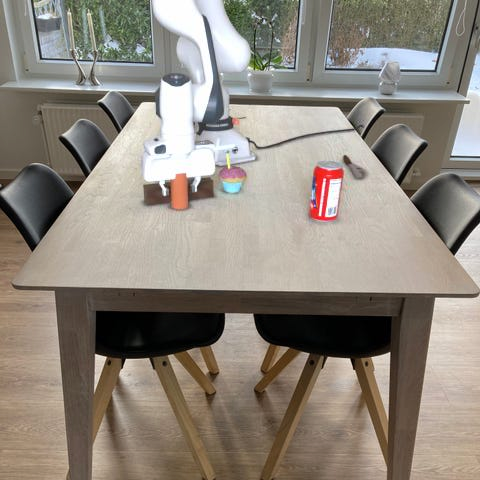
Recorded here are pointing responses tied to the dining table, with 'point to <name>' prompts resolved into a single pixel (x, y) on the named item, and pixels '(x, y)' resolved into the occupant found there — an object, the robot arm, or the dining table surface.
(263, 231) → the dining table surface
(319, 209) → the soda can
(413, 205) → the dining table surface
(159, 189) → the wall
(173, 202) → the capped bottle
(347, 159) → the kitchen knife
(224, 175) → the cupcake
